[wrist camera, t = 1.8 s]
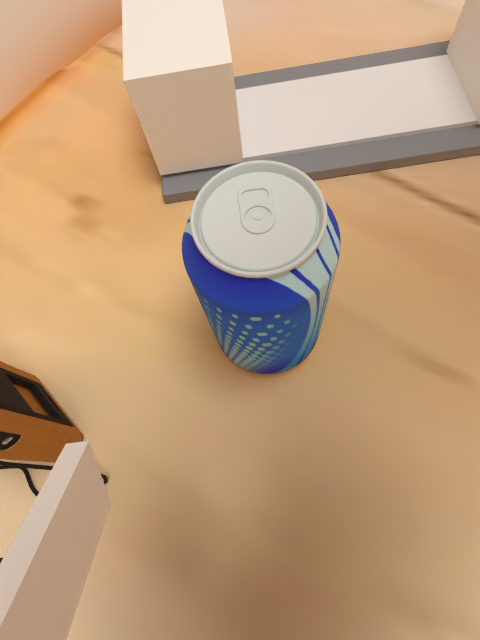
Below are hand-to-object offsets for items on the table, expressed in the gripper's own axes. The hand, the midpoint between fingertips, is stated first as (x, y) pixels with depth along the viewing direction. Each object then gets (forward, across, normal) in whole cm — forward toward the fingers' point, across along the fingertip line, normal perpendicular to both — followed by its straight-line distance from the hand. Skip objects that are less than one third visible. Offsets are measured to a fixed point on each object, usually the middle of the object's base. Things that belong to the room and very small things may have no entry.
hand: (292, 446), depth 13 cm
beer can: (+21, 0, -5) cm, 21 cm away
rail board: (+36, +12, +10) cm, 39 cm away
